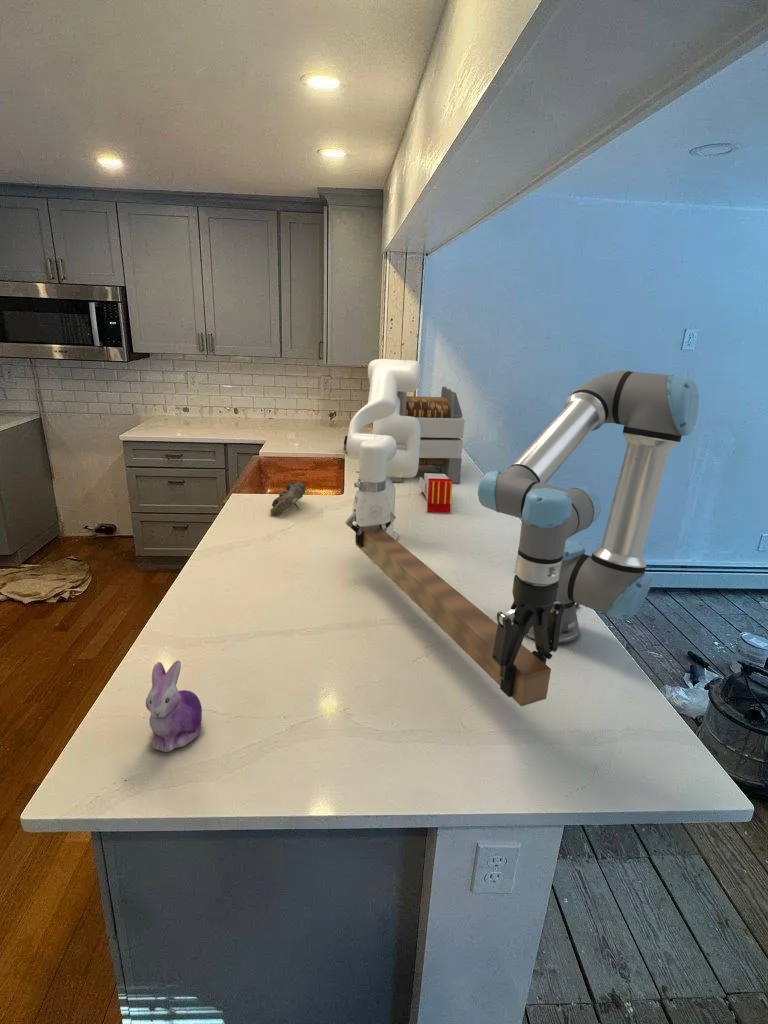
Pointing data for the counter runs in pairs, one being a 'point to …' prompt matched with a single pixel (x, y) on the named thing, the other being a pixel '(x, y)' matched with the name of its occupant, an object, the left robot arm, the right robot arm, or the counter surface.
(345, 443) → the figurine character
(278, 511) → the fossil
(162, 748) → the figurine
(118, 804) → the counter surface
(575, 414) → the right robot arm
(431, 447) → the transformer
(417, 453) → the left robot arm
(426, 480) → the toy
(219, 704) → the counter surface
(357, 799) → the counter surface
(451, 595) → the post
